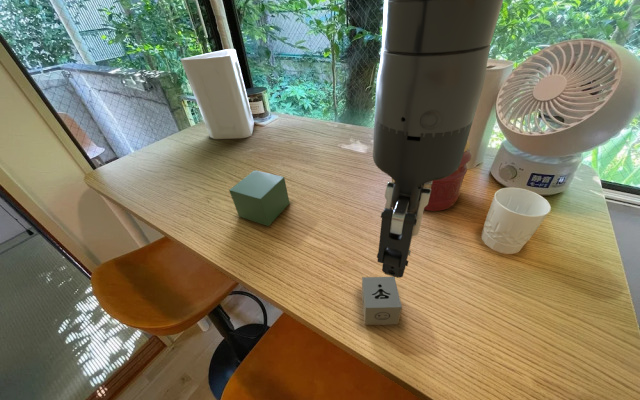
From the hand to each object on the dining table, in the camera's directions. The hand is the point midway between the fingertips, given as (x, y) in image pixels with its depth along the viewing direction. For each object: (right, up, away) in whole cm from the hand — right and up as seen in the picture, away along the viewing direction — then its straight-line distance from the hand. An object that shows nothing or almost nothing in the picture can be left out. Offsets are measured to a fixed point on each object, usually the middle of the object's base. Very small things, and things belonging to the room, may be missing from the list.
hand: (400, 245), depth 30 cm
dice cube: (0, -12, +10) cm, 16 cm away
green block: (-23, +3, +32) cm, 40 cm away
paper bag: (-43, +33, +74) cm, 91 cm away
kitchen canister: (+17, +6, +32) cm, 36 cm away
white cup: (+25, -3, +19) cm, 32 cm away
